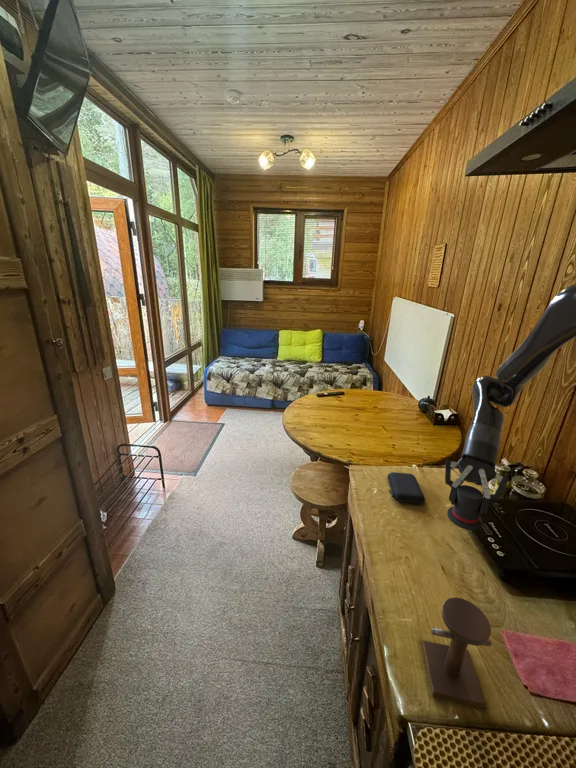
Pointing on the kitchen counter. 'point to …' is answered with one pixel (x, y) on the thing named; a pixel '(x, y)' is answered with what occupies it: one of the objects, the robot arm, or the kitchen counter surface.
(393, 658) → the kitchen counter surface
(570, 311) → the robot arm
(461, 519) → the hat
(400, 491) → the carrying case
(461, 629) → the coat stand
